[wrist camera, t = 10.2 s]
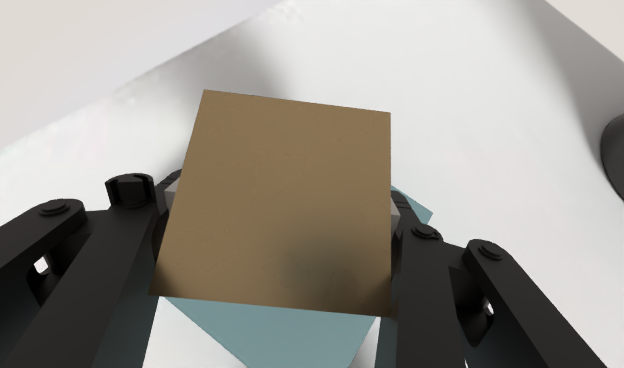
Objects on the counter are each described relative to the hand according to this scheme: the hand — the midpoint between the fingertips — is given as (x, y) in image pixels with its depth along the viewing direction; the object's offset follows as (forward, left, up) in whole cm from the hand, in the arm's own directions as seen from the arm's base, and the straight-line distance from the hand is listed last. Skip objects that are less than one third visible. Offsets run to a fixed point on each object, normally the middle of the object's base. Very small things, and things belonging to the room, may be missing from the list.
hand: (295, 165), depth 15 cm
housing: (-2, +3, -5) cm, 6 cm away
